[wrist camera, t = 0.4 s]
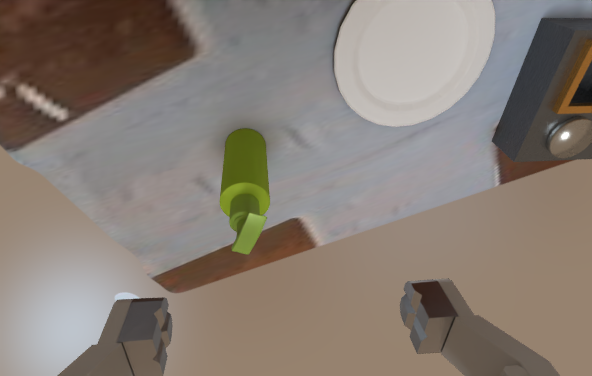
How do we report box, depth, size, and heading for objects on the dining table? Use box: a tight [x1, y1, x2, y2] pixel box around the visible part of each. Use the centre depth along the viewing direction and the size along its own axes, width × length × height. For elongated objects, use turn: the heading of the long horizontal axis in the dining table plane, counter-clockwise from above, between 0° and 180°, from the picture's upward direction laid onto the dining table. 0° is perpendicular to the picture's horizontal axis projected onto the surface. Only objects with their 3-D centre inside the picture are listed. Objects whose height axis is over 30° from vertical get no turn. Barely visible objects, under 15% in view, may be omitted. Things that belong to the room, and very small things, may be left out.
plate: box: [334, 0, 495, 127], centre depth 46 cm, size 21×21×2 cm
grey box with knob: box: [492, 18, 592, 162], centre depth 49 cm, size 18×13×7 cm
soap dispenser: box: [220, 129, 270, 255], centre depth 45 cm, size 6×7×20 cm
